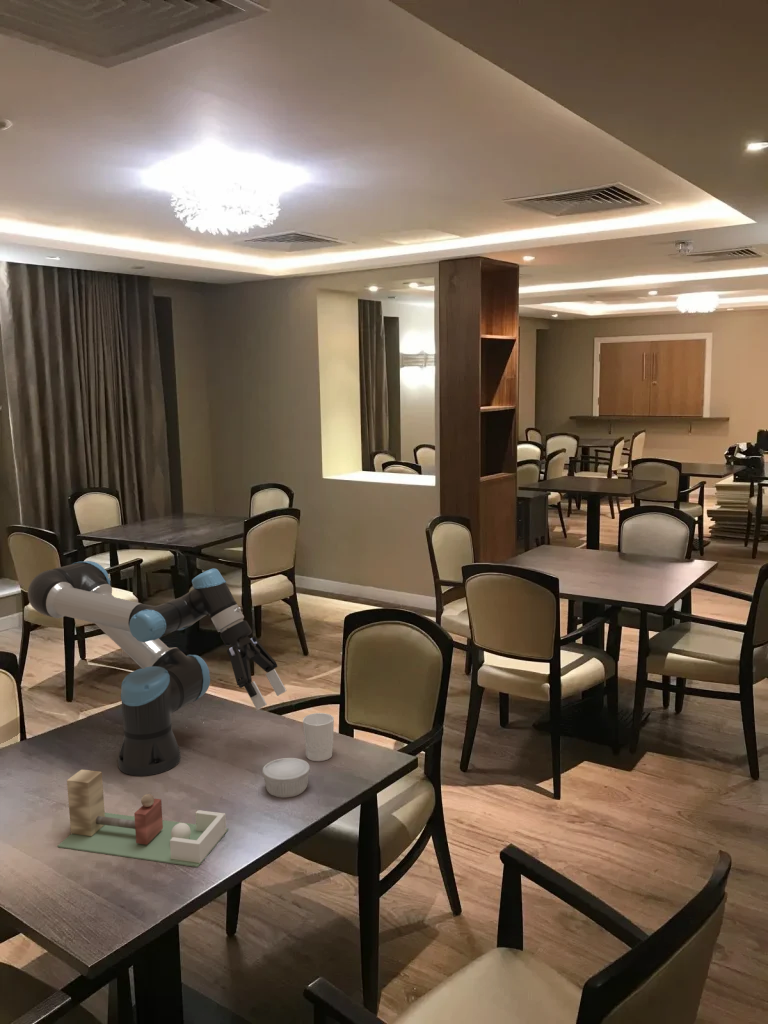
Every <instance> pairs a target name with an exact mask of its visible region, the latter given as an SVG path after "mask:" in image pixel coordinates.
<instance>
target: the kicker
mask: <svg viewBox="0 0 768 1024" xmlns="http://www.w3.org/2000/svg"><path fill="white" fill-rule="evenodd" d="M66 787H67V797H68V798H67V799H68V812H69V823H70V824H69V825H70V834H79V835H86V836H92V835H94V834H95V833H96V832H97V831H98V830H99V829H100V828H101V827H102V826H104V825H109V826H116V827H124V828H131V829H135V832H136V843H139V844H146V845H147V844H148V843H149V842H150V841H151V840H152V839H153V838H154V837H155V836H156V835H157V834H158V833H159V832H160V831H161V830H162V829H163V821H162V820H163V809H162V808H163V806H162V799H161V798H155V797H154V795H153V794H152V793H146V794H144V795H143V796H142V797H141V800H140V802H141V803H140V804H141V807H139V808H138V809H137V810H136V811H135V812H134V815H133V816H135V821H133V820H126V819H118V818H110V817H105V813H106V812H105V799H104V785H103V772H102V771H96V770H89V769H80V770H78V771H77V772H76V773H74V774H73V775H72V776H70V777H69V778H68V779H67V780H66Z"/></svg>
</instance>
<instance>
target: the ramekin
mask: <svg viewBox="0 0 768 1024" xmlns="http://www.w3.org/2000/svg"><path fill="white" fill-rule="evenodd" d="M310 768H311V767H310V764H309V763H308V762H307V761H306V760H304V759H302V758H296V757H283V758H277V759H274V760H271V761H269V762H268V763H266V764H265V765H264V766H263V767H262V776H263V778H264V779H263V780H264V784H265V788H266V791H267V792H268V793H269V795H271V796H274V797H277V798H284V799H286V798H292V797H296V796H298V795H300V794H302V793H303V792H305V790H306V789H307V788H308V782H309V775H310V771H311V769H310Z"/></svg>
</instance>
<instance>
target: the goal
mask: <svg viewBox="0 0 768 1024" xmlns="http://www.w3.org/2000/svg"><path fill="white" fill-rule="evenodd" d="M194 816H195V824H196V830H197V831H204V832H203V833H202V835H201V836H200V837H199V838H198V839H197V840H190V839H183V838H176V837H173V838H172V839H171V840H170V851H171V859H175V860H182V861H189V862H196V863H201V861H202V860H203V859H204V858H205V856H206V855H207V854H208V853H209V852H210V850H211V849H212V848H213V847H214V845H215V844H216V843H217V842H218V841H219V839H220V838H221V837H222V836H223V834H224V833H225V832H226V828H227V818H226V817H227V816H226V813H225V812H216V811H210V810H200V809H197V811H195V815H194ZM226 833H227V832H226ZM226 833H225V834H226ZM223 837H224V836H223ZM223 837H222V838H223ZM222 838H221V839H222ZM219 842H220V841H219ZM219 842H218V843H219ZM218 843H217V844H218ZM217 844H216V845H217ZM214 848H215V847H214ZM214 848H213V849H214ZM213 849H212V850H213ZM210 853H211V852H210ZM210 853H209V854H210ZM209 854H208V855H209ZM208 855H207V856H208ZM205 859H206V858H205ZM205 859H204V860H205ZM204 860H203V861H204ZM201 864H202V863H201Z"/></svg>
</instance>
